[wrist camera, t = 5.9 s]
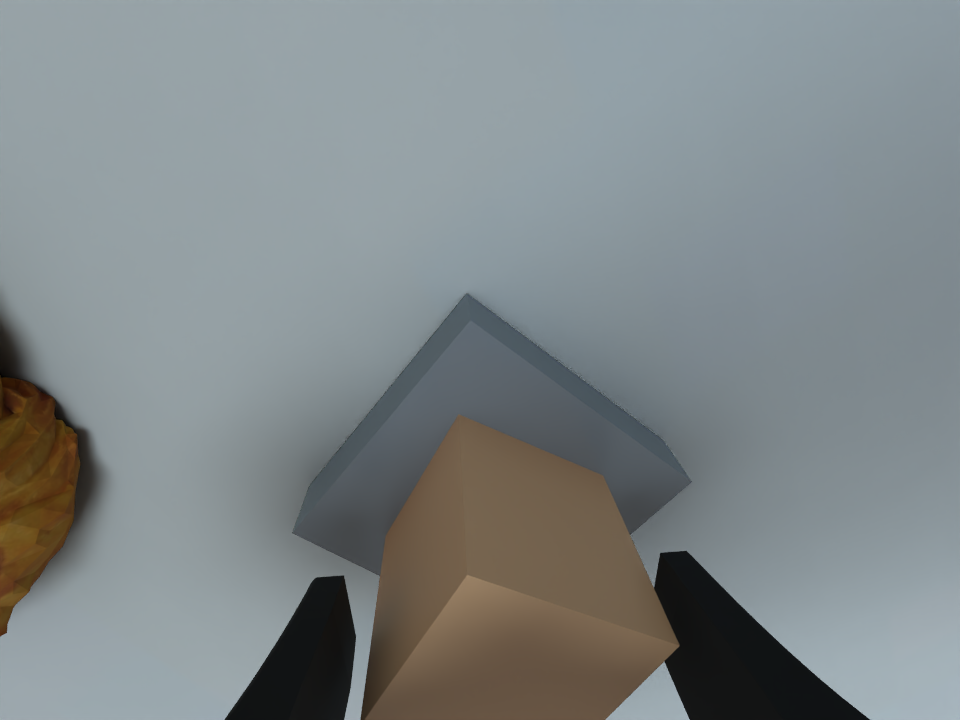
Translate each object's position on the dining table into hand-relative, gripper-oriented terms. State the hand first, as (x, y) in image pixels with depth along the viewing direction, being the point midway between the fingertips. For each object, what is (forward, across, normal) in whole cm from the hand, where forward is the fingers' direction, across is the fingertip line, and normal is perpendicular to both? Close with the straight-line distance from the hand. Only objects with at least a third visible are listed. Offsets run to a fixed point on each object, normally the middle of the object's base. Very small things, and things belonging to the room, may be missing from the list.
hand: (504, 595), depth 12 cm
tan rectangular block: (+3, 0, 0) cm, 3 cm away
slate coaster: (+5, 0, 0) cm, 5 cm away
